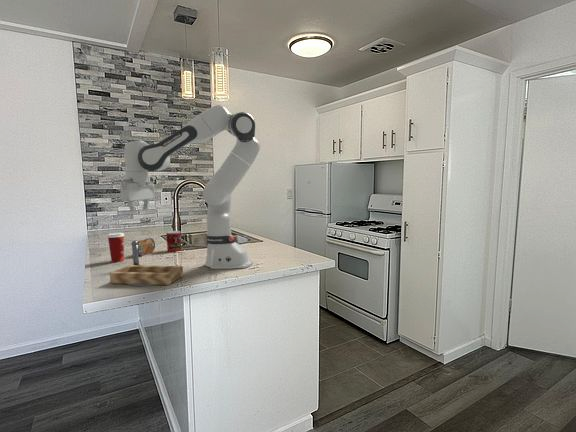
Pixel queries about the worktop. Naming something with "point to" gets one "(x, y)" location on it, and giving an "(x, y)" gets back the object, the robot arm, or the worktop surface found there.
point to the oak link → (146, 274)
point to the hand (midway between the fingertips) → (139, 210)
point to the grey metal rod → (135, 252)
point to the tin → (145, 246)
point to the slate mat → (141, 284)
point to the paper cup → (116, 246)
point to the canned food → (173, 241)
